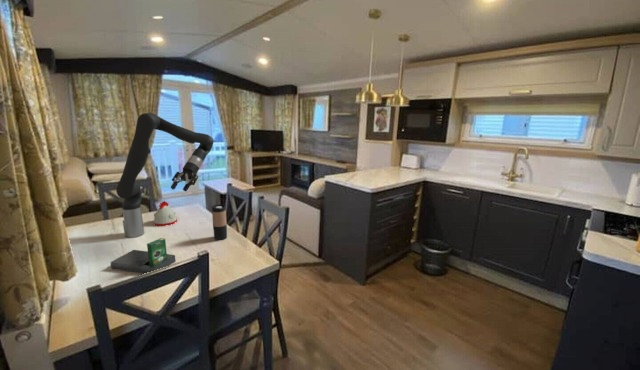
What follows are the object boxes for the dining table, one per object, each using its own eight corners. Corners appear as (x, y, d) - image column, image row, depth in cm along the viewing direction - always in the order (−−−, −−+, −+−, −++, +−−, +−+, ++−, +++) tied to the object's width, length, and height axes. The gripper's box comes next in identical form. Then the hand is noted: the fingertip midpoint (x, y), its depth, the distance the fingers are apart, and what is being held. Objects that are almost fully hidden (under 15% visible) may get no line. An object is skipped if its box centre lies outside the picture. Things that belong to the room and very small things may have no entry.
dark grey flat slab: (111, 268, 131) (110, 262, 131) (134, 255, 144) (133, 249, 143) (155, 275, 127) (155, 268, 126) (175, 261, 139) (174, 254, 139)
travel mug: (215, 235, 171) (213, 204, 166) (228, 235, 171) (226, 204, 167) (212, 240, 163) (209, 208, 159) (225, 240, 164) (223, 208, 159)
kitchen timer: (149, 225, 184) (146, 203, 180) (163, 218, 197) (161, 197, 194) (168, 227, 182) (166, 205, 178) (181, 219, 195) (179, 199, 192)
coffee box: (164, 261, 139) (161, 237, 136) (168, 262, 138) (165, 238, 135) (149, 269, 132) (145, 243, 129) (153, 270, 131) (150, 244, 128)
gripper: (179, 160, 156) (163, 184, 148) (199, 162, 151) (183, 187, 143) (187, 168, 162) (172, 191, 154) (206, 170, 157) (192, 194, 149)
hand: (178, 189), depth 148 cm, fingers open, 8 cm apart
